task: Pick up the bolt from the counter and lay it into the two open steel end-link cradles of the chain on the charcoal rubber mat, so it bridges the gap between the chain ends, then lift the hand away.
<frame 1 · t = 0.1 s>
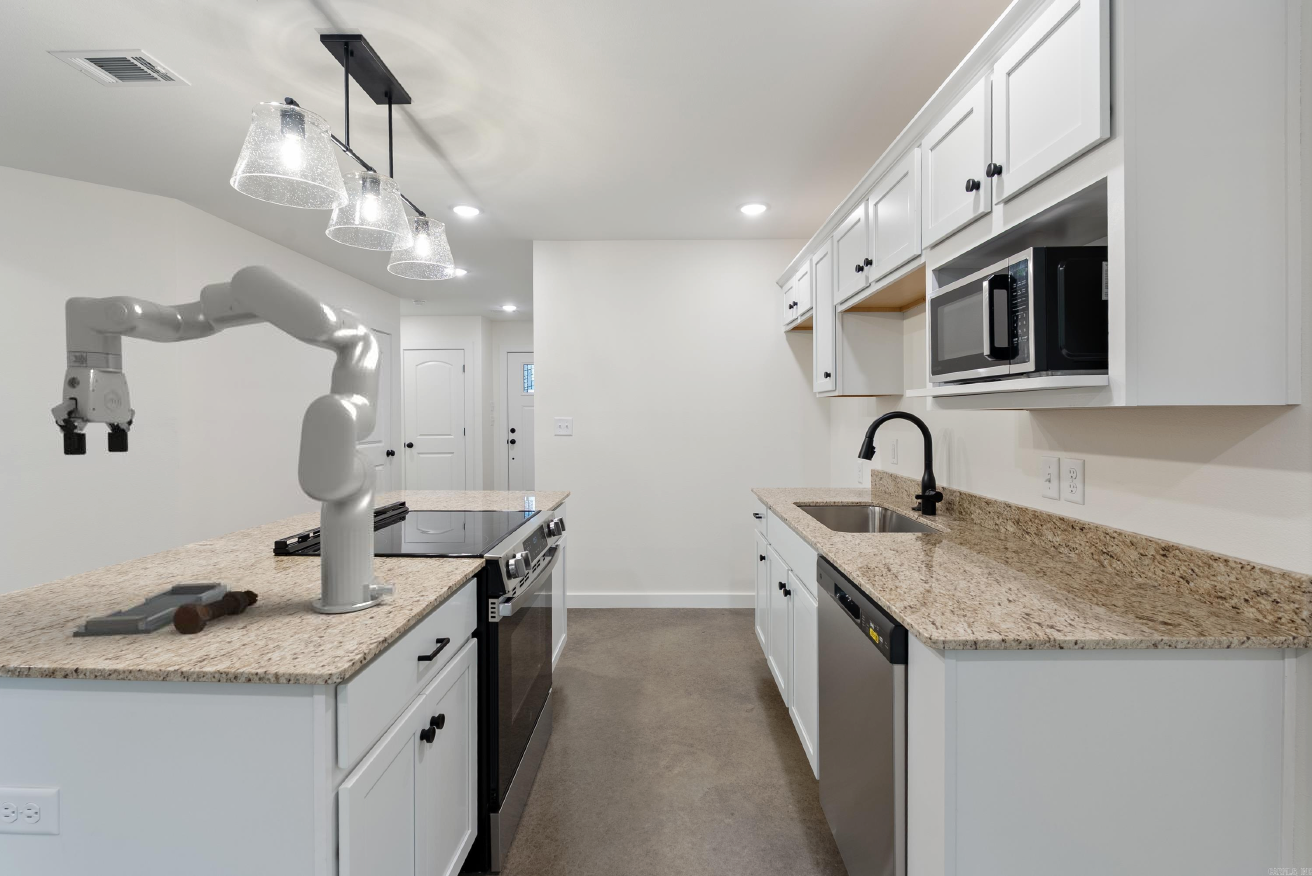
hand: (97, 453, 108), 31 cm above the countertop, tool pointing down, fingers open, 9 cm apart
bolt: (222, 620, 106), on the countertop
chain ends: (160, 604, 109), on the chain mat, point 1 cm above the countertop
chain mat: (160, 612, 109), on the countertop
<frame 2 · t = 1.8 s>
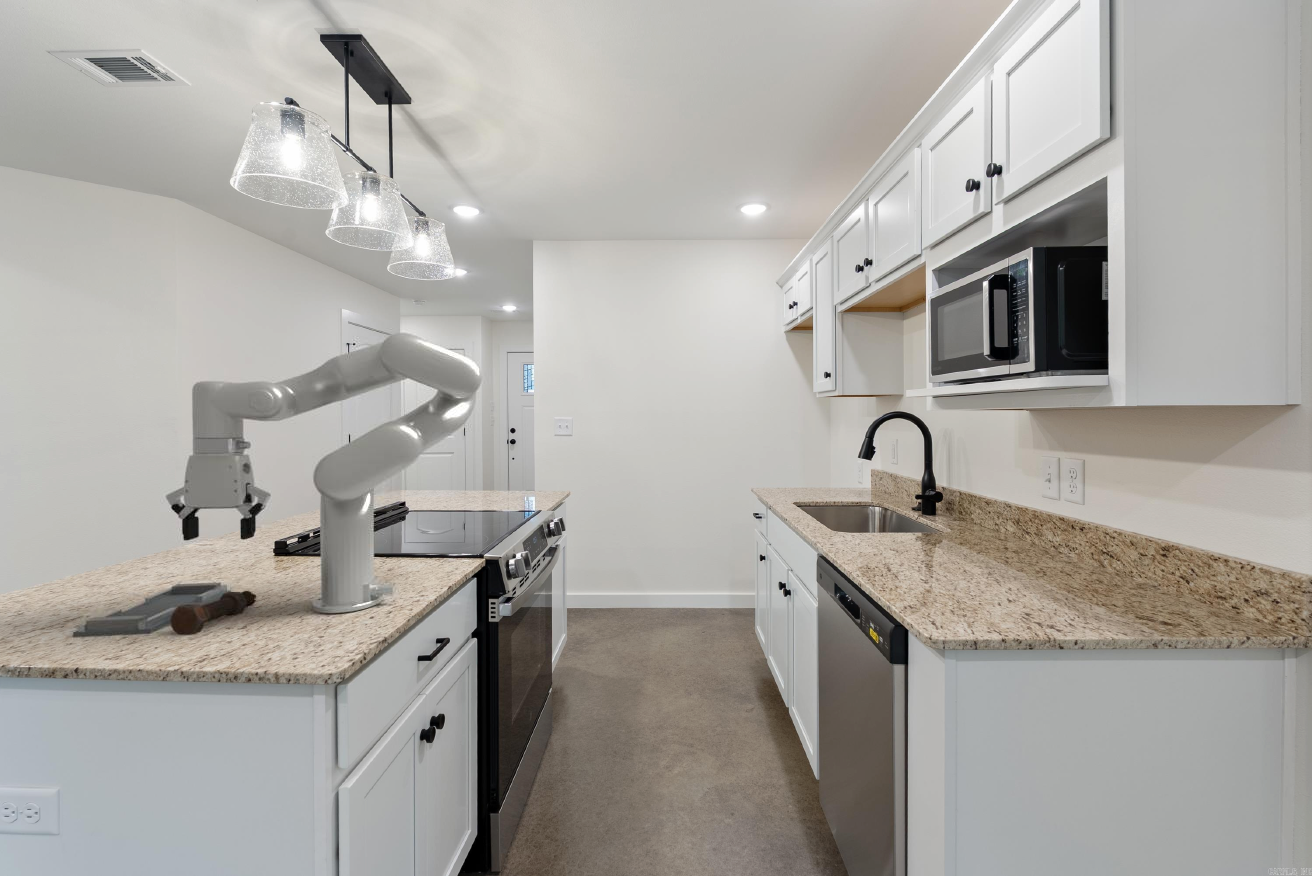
hand: (219, 538, 106), 15 cm above the countertop, tool pointing down, fingers open, 9 cm apart
nothing on the countertop moved.
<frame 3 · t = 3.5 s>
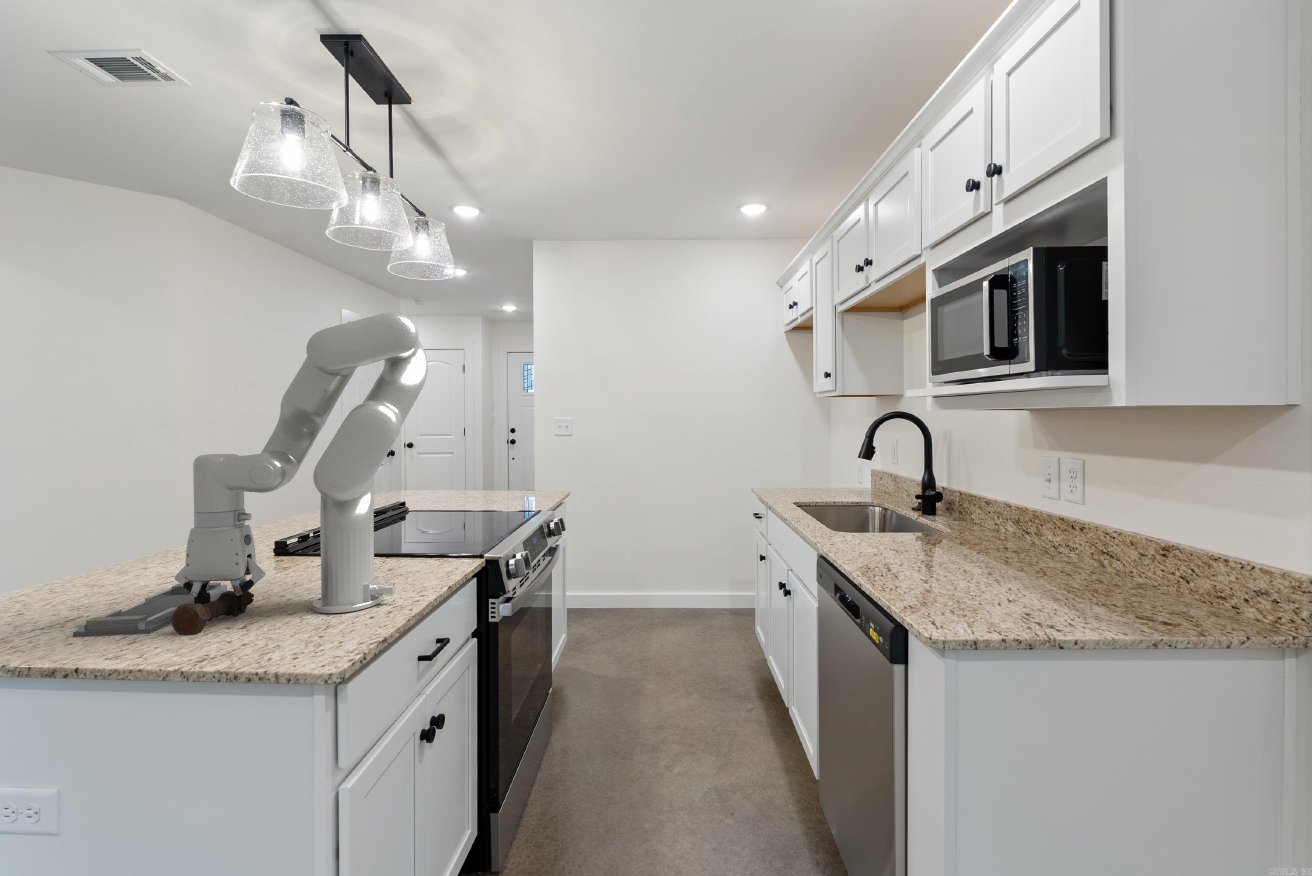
hand: (221, 614, 106), 1 cm above the countertop, tool pointing down, fingers closed on bolt, 5 cm apart
bolt: (219, 621, 105), on the countertop, touching gripper
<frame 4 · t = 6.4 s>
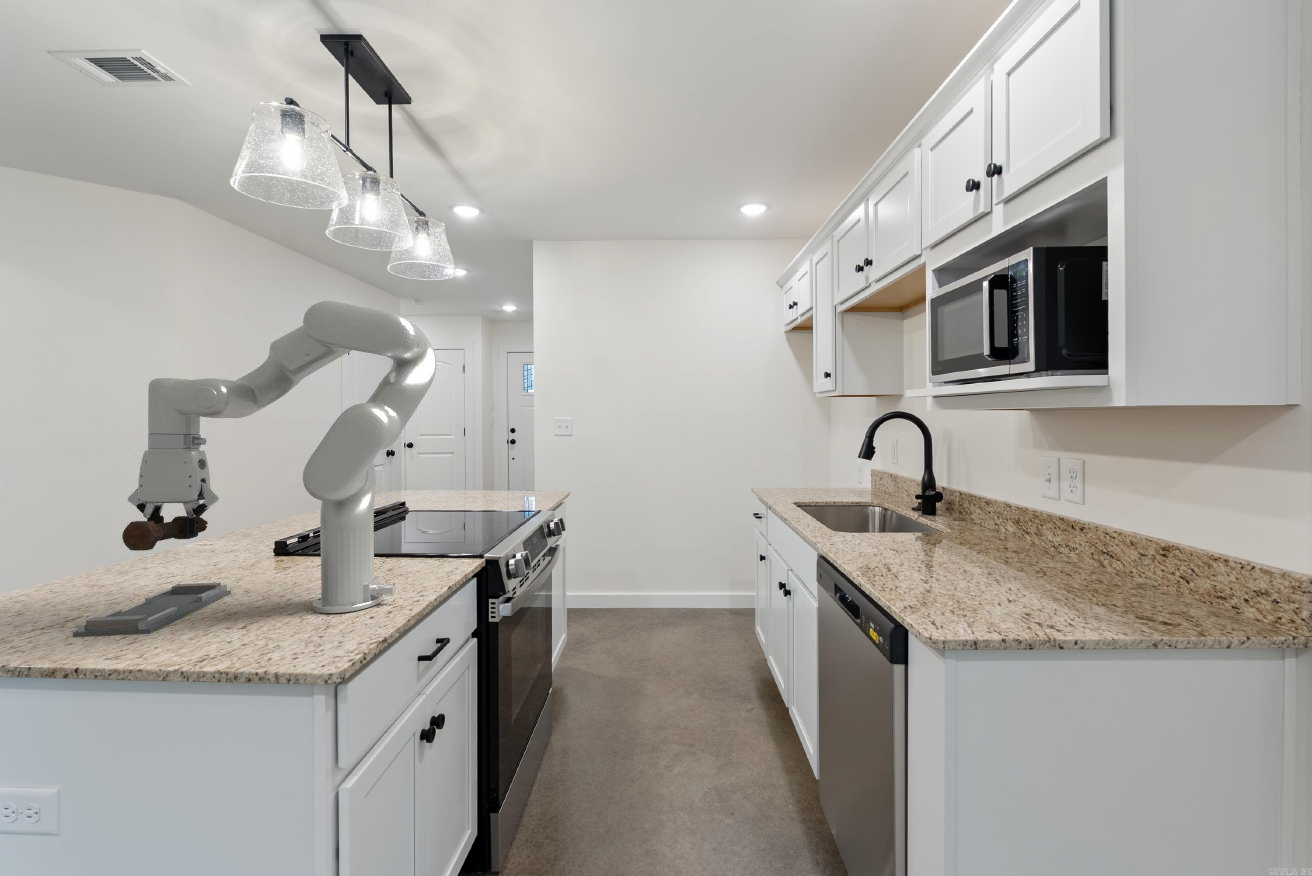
hand: (173, 536, 108), 15 cm above the countertop, tool pointing down, fingers closed on bolt, 5 cm apart
bolt: (172, 542, 107), point 14 cm above the countertop, touching gripper
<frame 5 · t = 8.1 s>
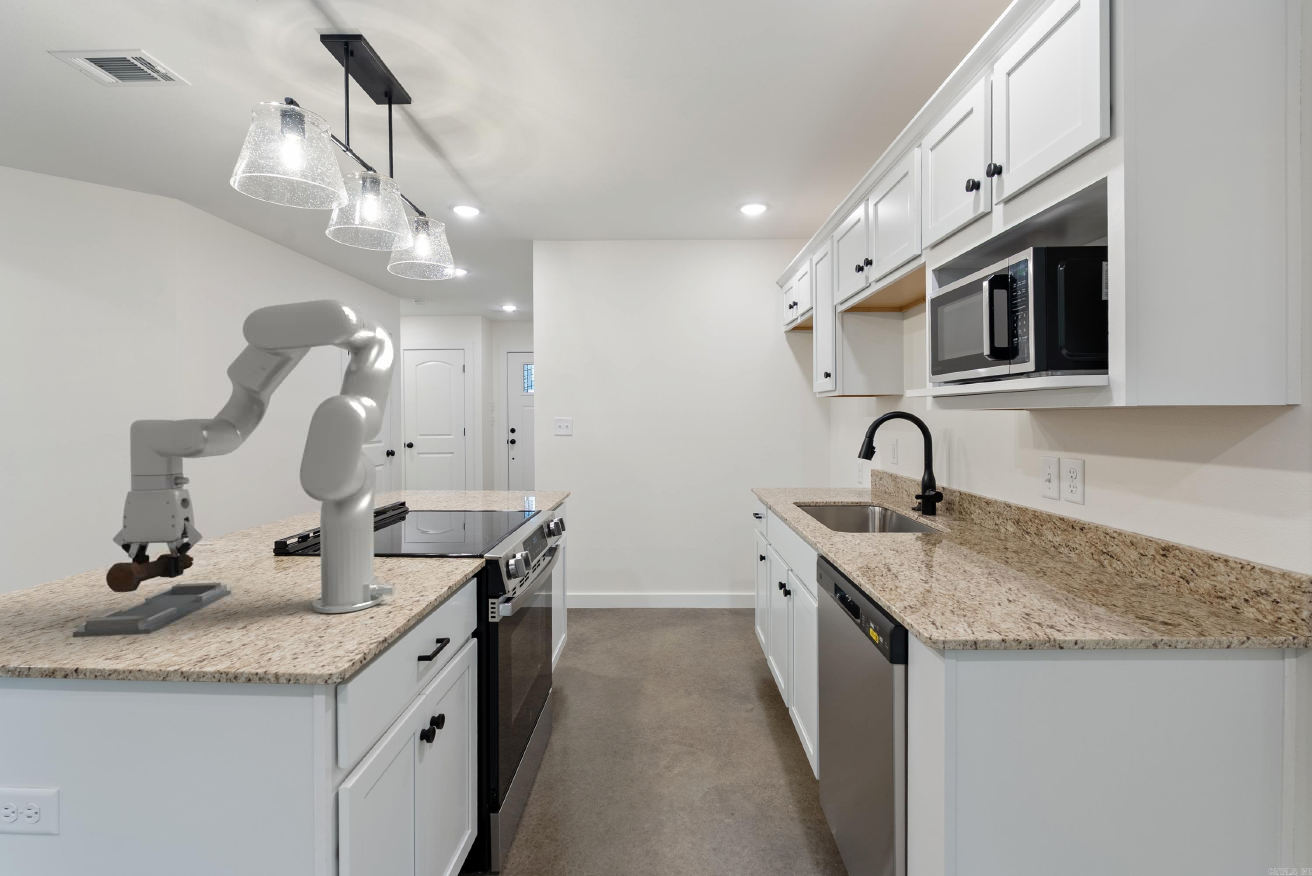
hand: (158, 575, 109), 7 cm above the countertop, tool pointing down, fingers closed on bolt, 5 cm apart
bolt: (157, 581, 108), point 6 cm above the countertop, touching gripper
when the fingers open (3 cm above the countertop, at t = 9.3 s): bolt drops 1 cm, resting on chain mat.
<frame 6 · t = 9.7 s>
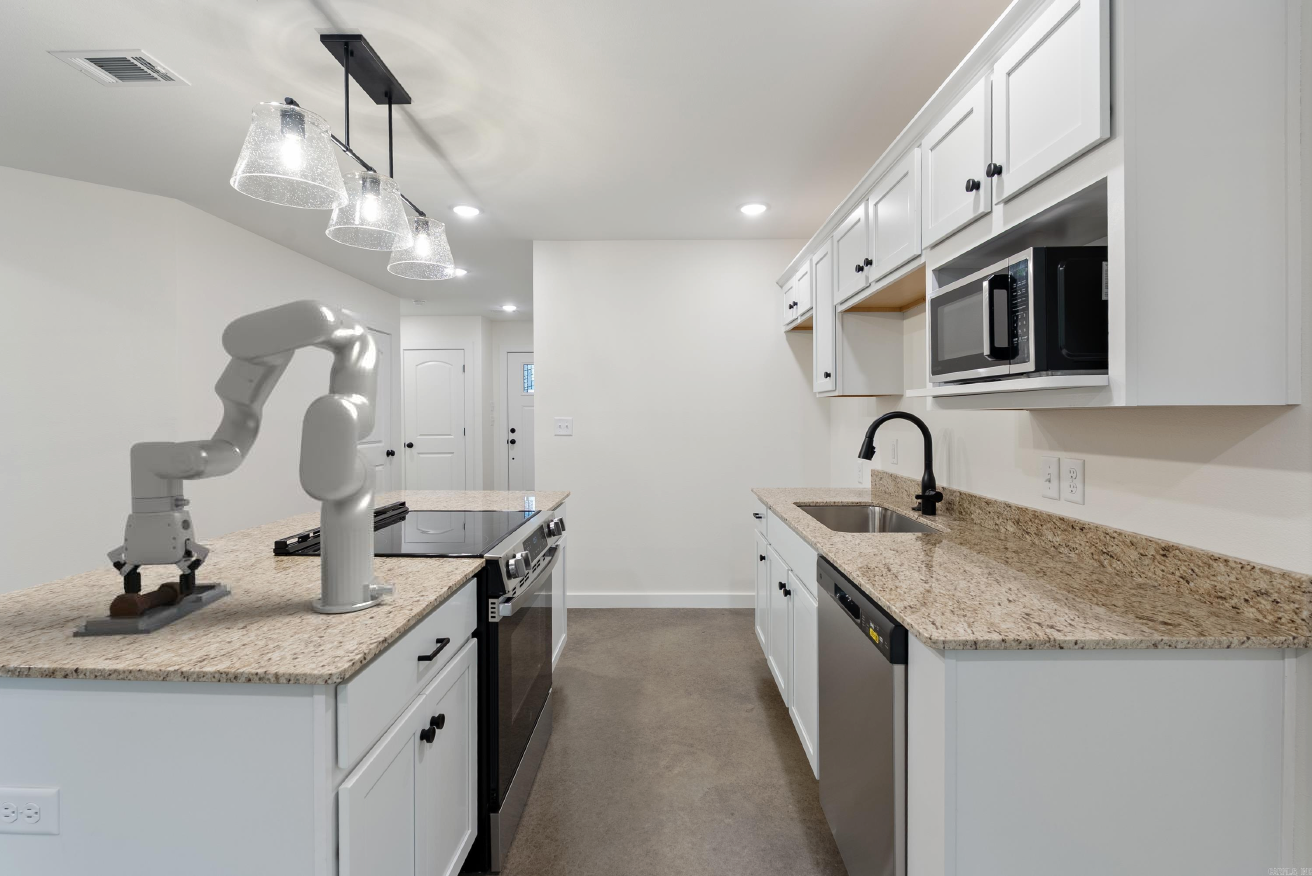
hand: (160, 593, 109), 4 cm above the countertop, tool pointing down, fingers open, 9 cm apart
bolt: (159, 610, 109), point 1 cm above the countertop, touching chain mat
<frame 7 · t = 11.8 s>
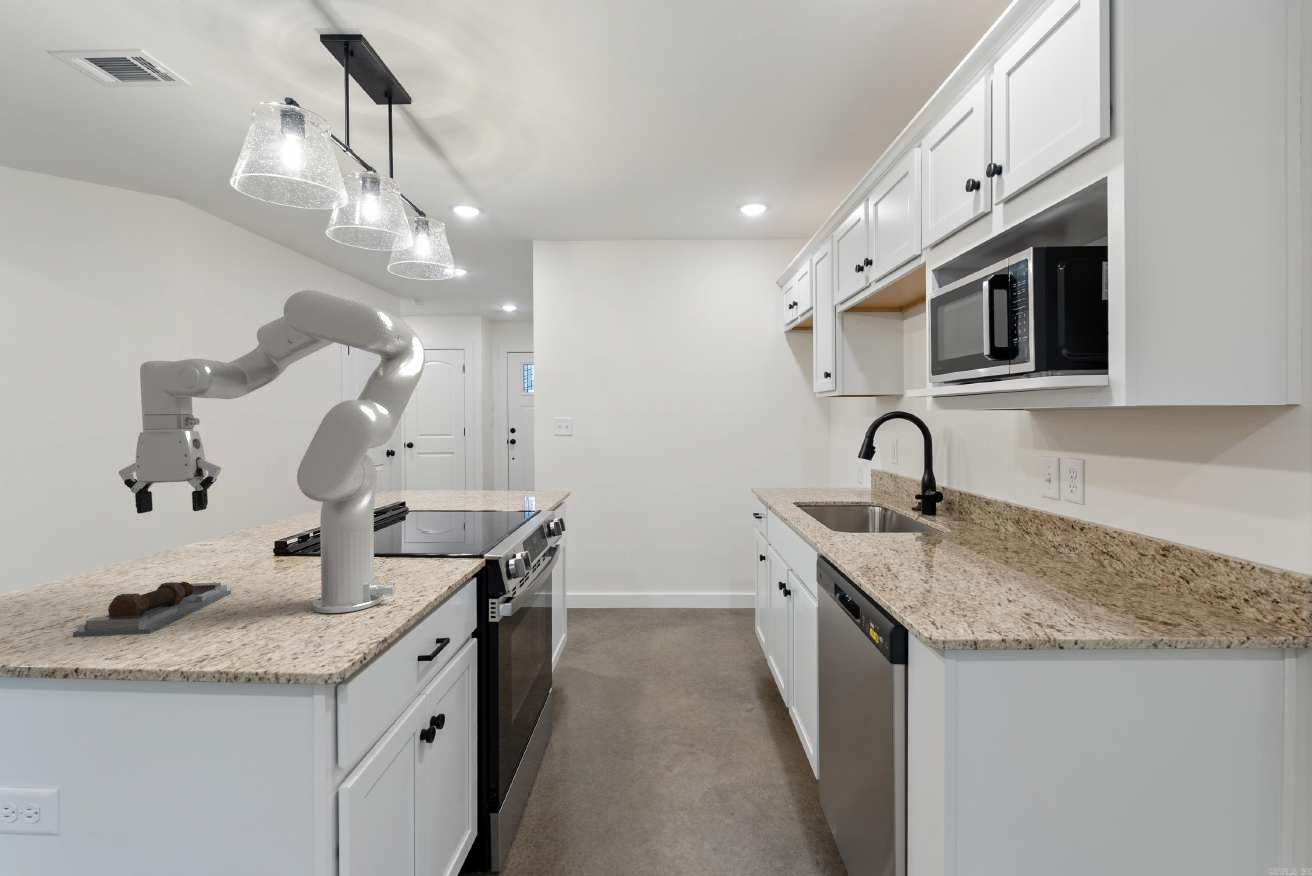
hand: (172, 511, 111), 20 cm above the countertop, tool pointing down, fingers open, 9 cm apart
nothing on the countertop moved.
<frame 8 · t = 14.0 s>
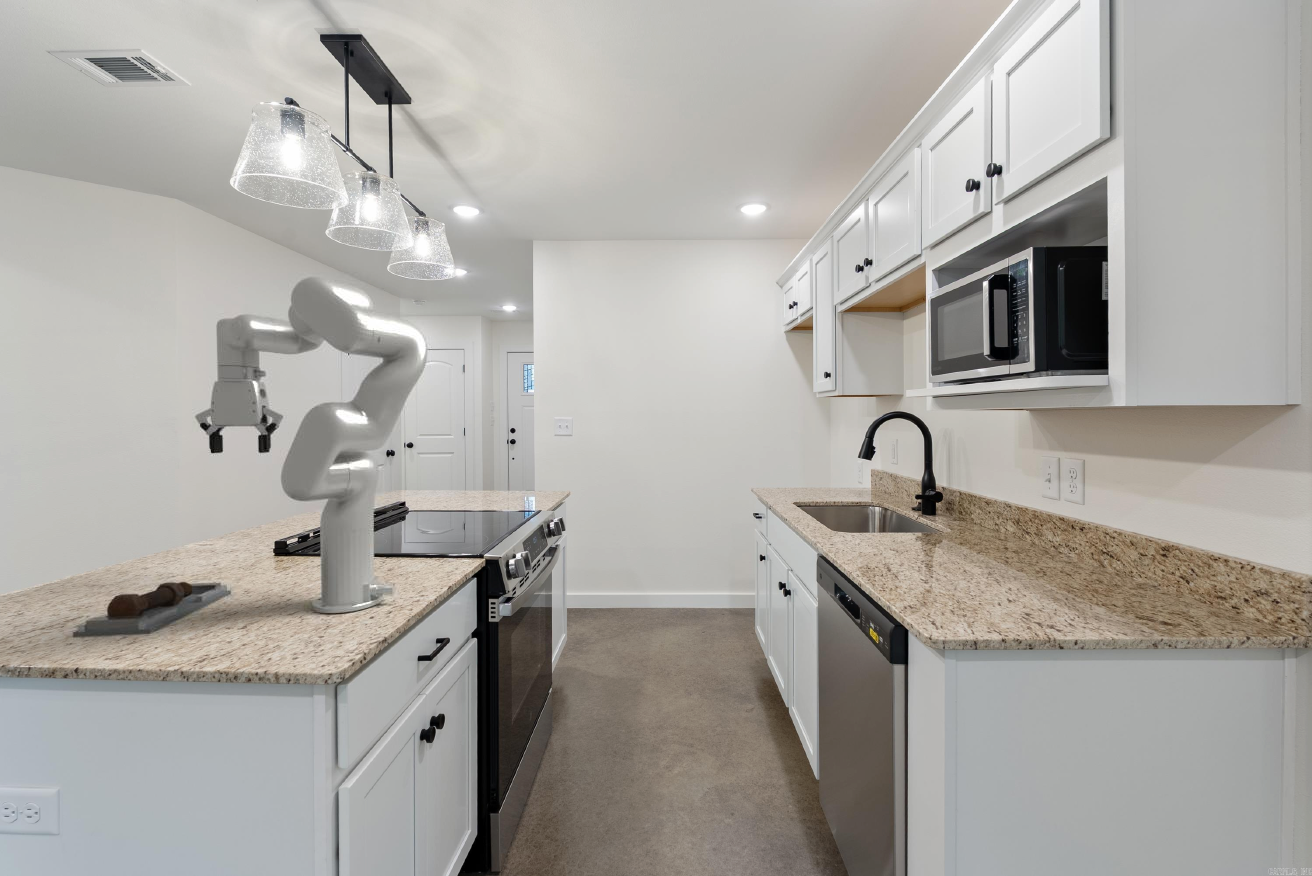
hand: (240, 452, 125), 30 cm above the countertop, tool pointing down, fingers open, 9 cm apart
nothing on the countertop moved.
at the end: bolt 1.0 cm off-centre on the chain ends, point 0.6 cm above the chain ends's base; bolt touching chain mat; the gripper is holding nothing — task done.
